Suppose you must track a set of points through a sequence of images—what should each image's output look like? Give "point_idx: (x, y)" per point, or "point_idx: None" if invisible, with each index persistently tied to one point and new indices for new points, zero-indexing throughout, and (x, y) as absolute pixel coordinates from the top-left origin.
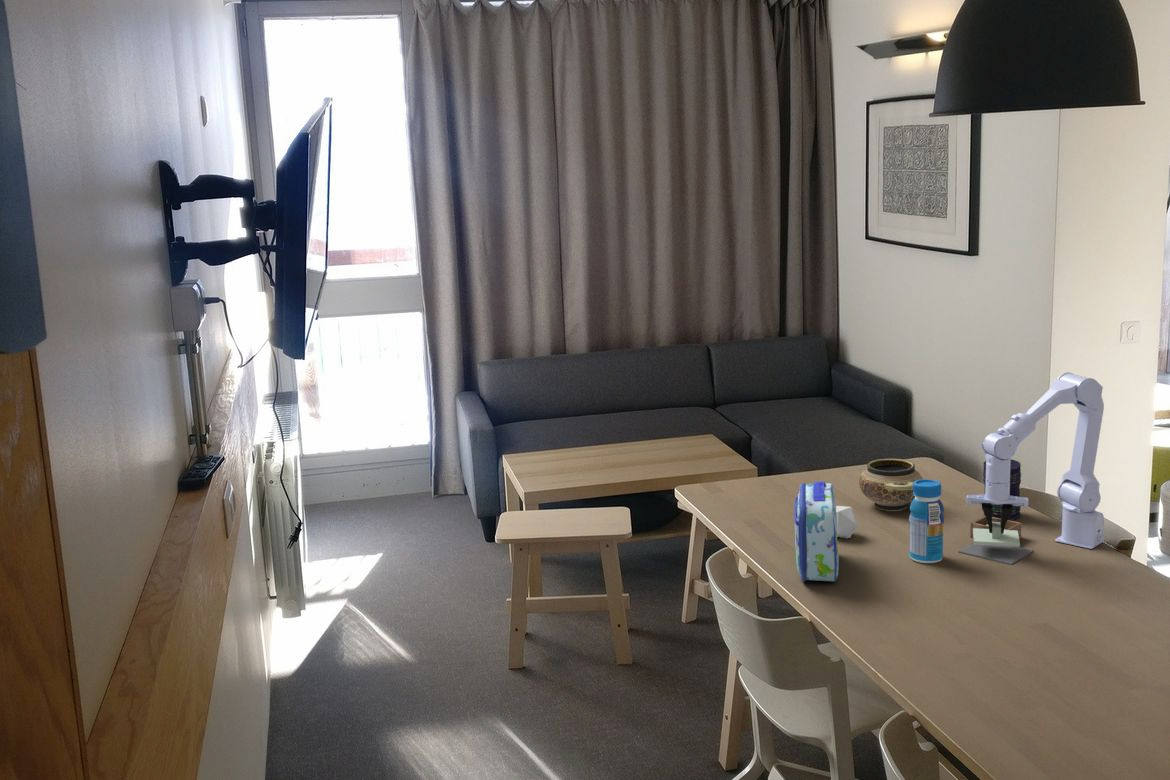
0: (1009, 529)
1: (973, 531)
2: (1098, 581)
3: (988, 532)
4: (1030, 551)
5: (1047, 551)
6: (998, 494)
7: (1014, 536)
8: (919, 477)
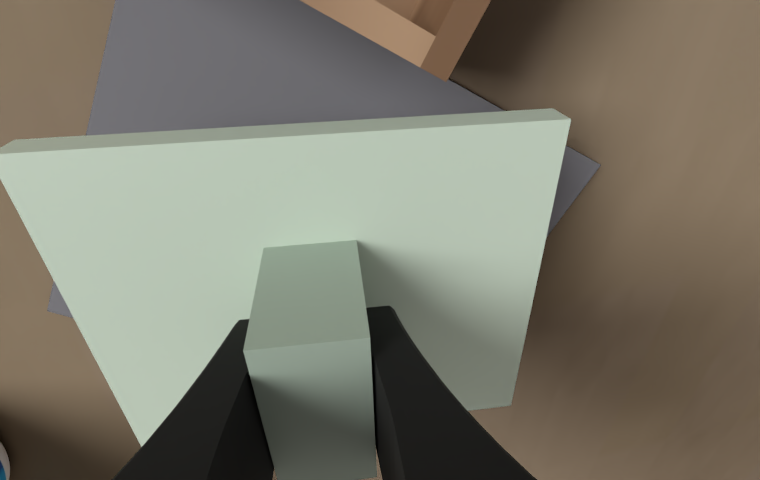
0: (482, 11)
1: (45, 258)
2: (746, 458)
3: (229, 251)
4: (572, 194)
5: (699, 132)
6: None
7: (497, 290)
8: None
